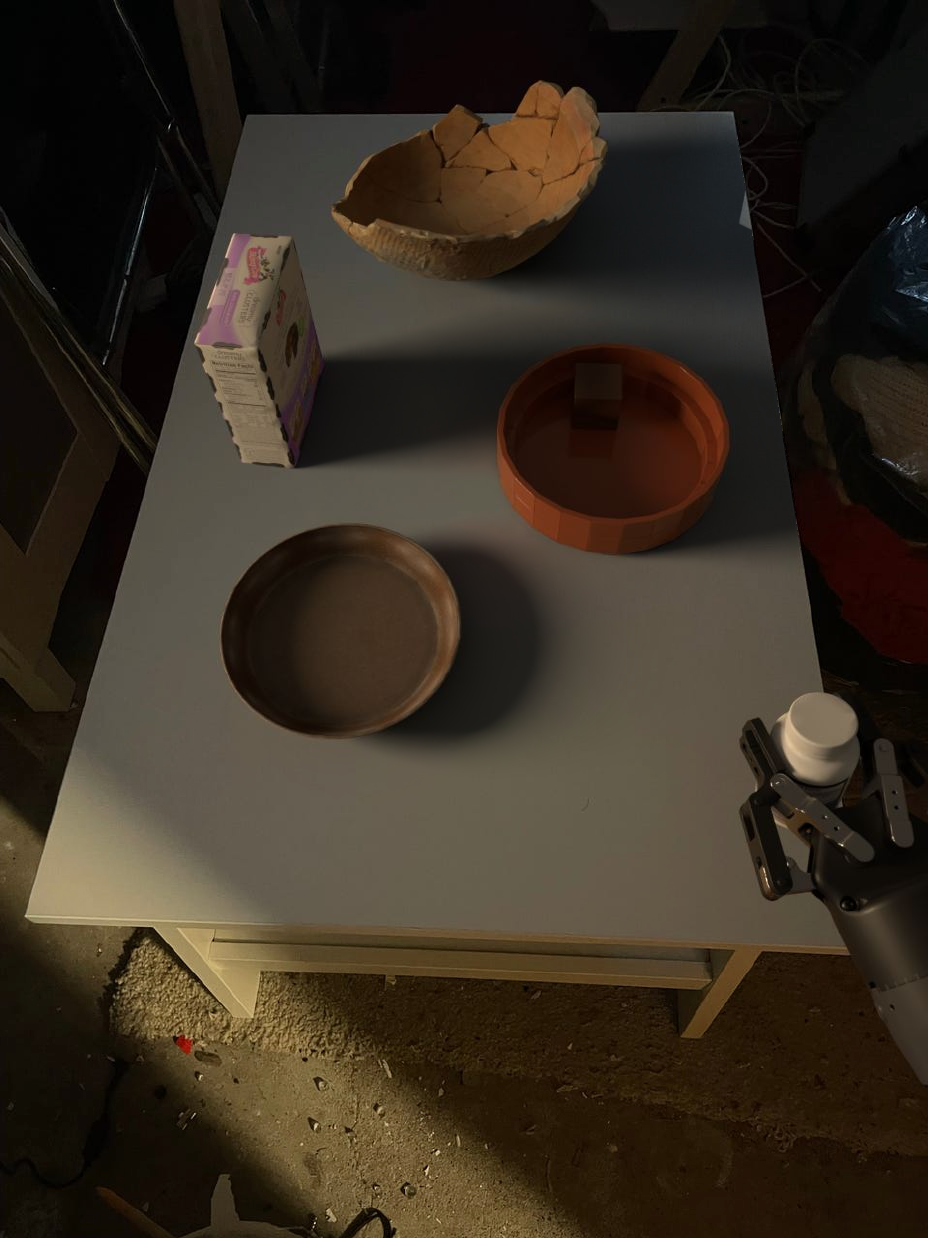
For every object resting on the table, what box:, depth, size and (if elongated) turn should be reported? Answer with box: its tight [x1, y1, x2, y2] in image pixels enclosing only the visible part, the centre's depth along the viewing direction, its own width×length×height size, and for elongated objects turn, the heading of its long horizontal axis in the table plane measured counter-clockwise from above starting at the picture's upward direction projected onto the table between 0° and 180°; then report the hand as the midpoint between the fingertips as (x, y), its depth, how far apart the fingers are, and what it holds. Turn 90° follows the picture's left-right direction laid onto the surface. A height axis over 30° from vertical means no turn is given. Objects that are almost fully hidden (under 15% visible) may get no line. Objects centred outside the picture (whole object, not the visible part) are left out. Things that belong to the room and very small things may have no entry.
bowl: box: [496, 342, 731, 555], centre depth 85 cm, size 21×21×6 cm
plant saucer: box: [219, 522, 462, 740], centre depth 77 cm, size 21×21×3 cm
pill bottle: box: [755, 691, 861, 830], centre depth 57 cm, size 5×5×10 cm
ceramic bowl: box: [330, 79, 610, 282], centre depth 97 cm, size 30×27×15 cm
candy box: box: [193, 232, 325, 469], centre depth 84 cm, size 14×6×16 cm, turn 172°
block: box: [571, 363, 623, 430], centre depth 87 cm, size 4×4×4 cm
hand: (792, 710), depth 57 cm, fingers closed on pill bottle, 5 cm apart
